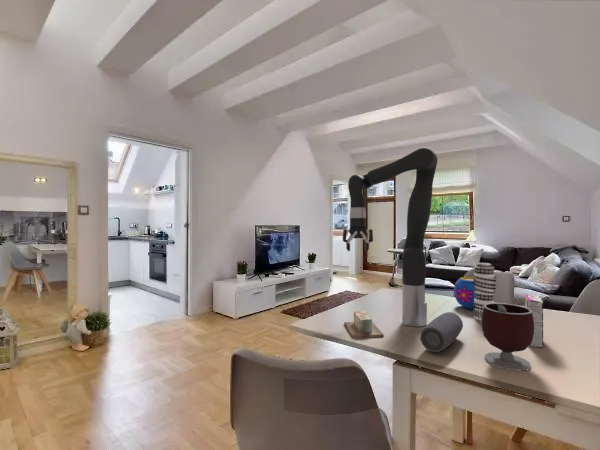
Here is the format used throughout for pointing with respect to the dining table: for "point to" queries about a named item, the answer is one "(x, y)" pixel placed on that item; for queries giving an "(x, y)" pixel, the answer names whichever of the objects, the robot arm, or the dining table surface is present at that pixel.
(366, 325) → the beech block
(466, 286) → the ceramic pot
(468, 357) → the dining table surface
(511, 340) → the mate gourd
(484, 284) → the decorative candle
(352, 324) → the walnut board
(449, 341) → the bluetooth speaker
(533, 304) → the candy bar box
